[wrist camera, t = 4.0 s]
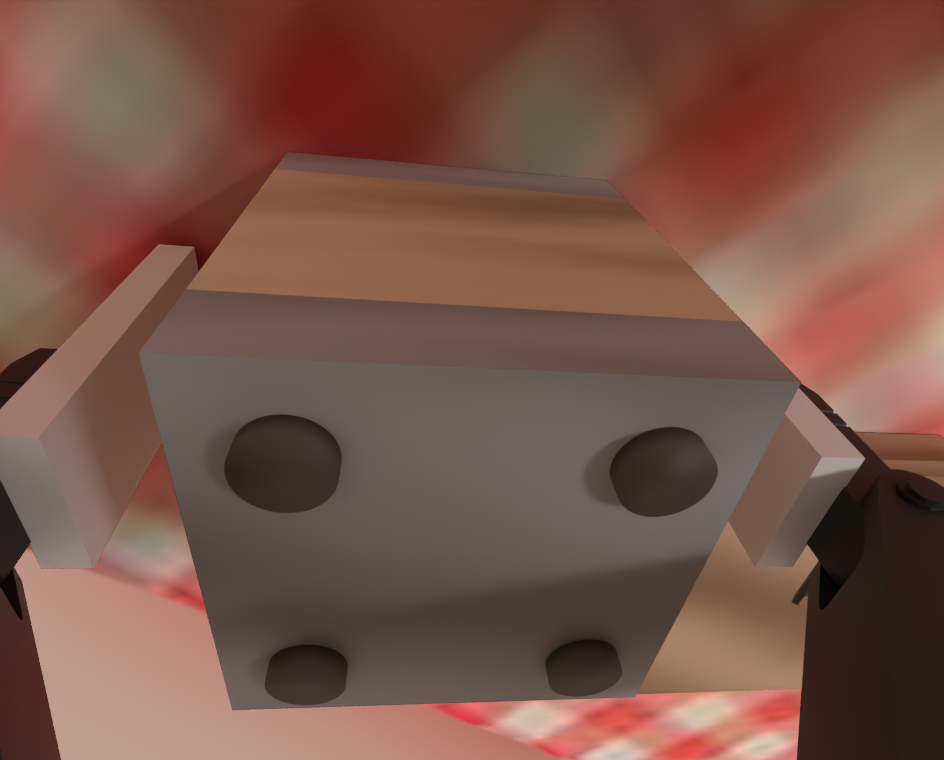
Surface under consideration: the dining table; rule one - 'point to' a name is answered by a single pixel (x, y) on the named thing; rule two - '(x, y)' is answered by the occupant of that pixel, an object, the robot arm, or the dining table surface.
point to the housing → (451, 435)
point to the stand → (759, 603)
